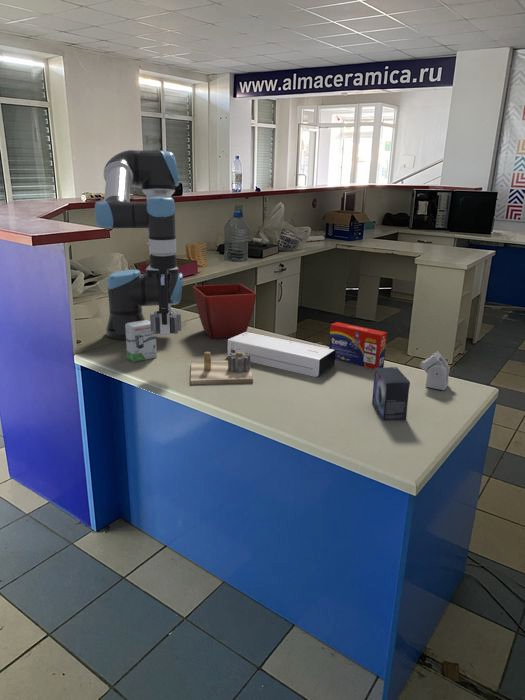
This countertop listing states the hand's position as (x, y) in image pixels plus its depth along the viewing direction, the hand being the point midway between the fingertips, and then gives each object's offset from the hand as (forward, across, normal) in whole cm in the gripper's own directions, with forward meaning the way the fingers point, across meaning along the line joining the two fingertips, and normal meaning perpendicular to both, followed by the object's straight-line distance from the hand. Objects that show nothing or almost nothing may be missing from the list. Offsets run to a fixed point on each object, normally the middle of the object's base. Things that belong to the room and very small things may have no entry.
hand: (166, 329), depth 158 cm
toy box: (+13, -3, +60) cm, 62 cm away
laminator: (+14, -5, +35) cm, 38 cm away
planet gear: (0, 0, 0) cm, 0 cm away
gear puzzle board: (+13, +4, +16) cm, 21 cm away
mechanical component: (+13, +18, +77) cm, 80 cm away
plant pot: (+14, -38, +19) cm, 45 cm away
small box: (+13, +34, +58) cm, 68 cm away
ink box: (+14, -12, -9) cm, 20 cm away
